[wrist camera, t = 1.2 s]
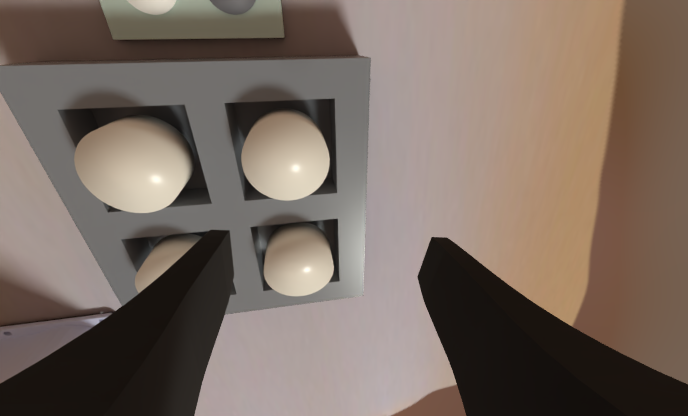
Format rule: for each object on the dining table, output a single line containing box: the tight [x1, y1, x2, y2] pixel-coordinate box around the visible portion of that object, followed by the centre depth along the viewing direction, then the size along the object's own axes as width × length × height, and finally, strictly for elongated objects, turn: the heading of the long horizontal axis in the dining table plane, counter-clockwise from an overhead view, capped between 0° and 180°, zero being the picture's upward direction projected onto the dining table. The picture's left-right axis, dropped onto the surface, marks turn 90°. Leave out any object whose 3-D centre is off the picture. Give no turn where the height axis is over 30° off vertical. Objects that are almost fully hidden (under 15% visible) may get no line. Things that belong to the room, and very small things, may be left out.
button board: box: [0, 55, 371, 314], centre depth 20 cm, size 18×18×3 cm
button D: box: [135, 233, 202, 293], centre depth 20 cm, size 5×5×3 cm
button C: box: [264, 222, 334, 296], centre depth 21 cm, size 5×5×3 cm
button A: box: [241, 108, 330, 201], centre depth 17 cm, size 5×5×3 cm
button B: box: [74, 115, 195, 213], centre depth 16 cm, size 5×5×3 cm
